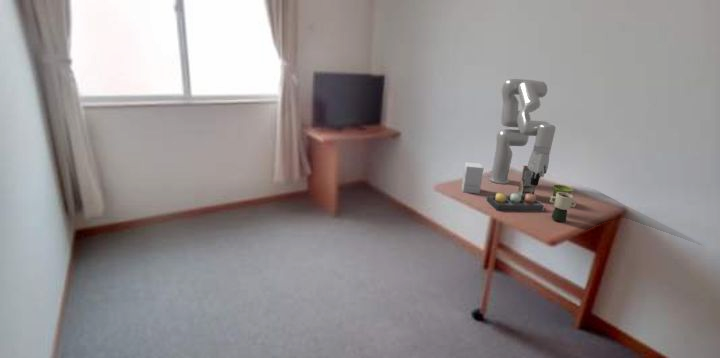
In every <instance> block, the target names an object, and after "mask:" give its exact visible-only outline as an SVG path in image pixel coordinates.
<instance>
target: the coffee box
mask: <svg viewBox="0 0 720 358" xmlns="http://www.w3.org/2000/svg"><path fill="white" fill-rule="evenodd" d="M522 166H523V167H522V172H521V176H520V181H519V186H518V190H517V191H518V192H517V194H520V195H521V196H526V194H527V193H530V194H534V195H535V191H536V187H537V186H535V185H531V184H530V183H531V178H532V176H531V174H532V173H531V171H530V170H529V169H528V165H522Z"/></svg>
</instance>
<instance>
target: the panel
mask: <svg viewBox="0 0 720 358" xmlns="http://www.w3.org/2000/svg"><path fill="white" fill-rule="evenodd" d="M495 197H496V195H487V197H486V202H488V204H490V205H491V206H492V207H493V209H495V210H496V211H497V212H498V211H501V212H503V211H506V212H507V211H511V212H512V211H513V212H528V211H529V212H543V211H544V204H542V203H541V202H539V201H538V200H537V199H536V200H535V203H527V202H525V201H524V200H525V196H522V197H521V201H520V203H512V202H511V201H510V197H511V195H507V196H506V201H505V203H497V202H496V201H495Z"/></svg>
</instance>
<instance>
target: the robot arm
mask: <svg viewBox="0 0 720 358" xmlns="http://www.w3.org/2000/svg"><path fill="white" fill-rule="evenodd" d="M547 94H548V85H547V84H546V83H545V82H544V81H541V80H534V79H523V78H522V79H521V78H510V79H506V80H505V81H504V83H503V84H502V88H501V97H502V109H501V117H500V120H501V121H500V123H501V125H502V127H506V128H504V129H500V130H499V131H497V133H496V147H495V152H494V153H495V154H494V158H493V163H492V164H493V165H492V169H491V170H490V175H489V176H488V177H487V180H488V181H490V182H491V183H492V182H493V183H495V184H500V185H506V184H509V183H510V182H511V181H510V179H509V178H508V177H509V173H510V168H511V164H512V158H513V151H512V149H511V147H524V146H526V145H527V144H528V143H529V142H528V141H529V137H530V136H531V137H534V136H535V139H534V145H533V149H532V151H531V153H530V156H529V159H528V163H527V166H528V169H529V170H530V171H531V173H532V174H531V176H532V178H531V183H530V184H531V185H535V186H536V187H537V186H539V182H540V179H541V178H544V177H545V175H546V174H547V171H548V169H549V164H550V153H551V149H552V146H553V141H554V136H555V133H556V126H555V125H553V124H550V123H549V122H547V121H546V120H545V121H543V120H531V115H530V113H532V112H535V111H536V110H538V109H540V107H541V100H540V98H543V97H545V96H546V95H547ZM516 95H517V96H518V95H519V98H520V102H521V106H522V108H521V109H520V110H519V103H520V102H519V100H518V98H517V96H516ZM511 128H517V129H511Z"/></svg>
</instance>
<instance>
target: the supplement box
mask: <svg viewBox="0 0 720 358" xmlns="http://www.w3.org/2000/svg"><path fill="white" fill-rule="evenodd" d="M483 174H484V166H483V165H482V163H477V162H470V161H469V162H467V161H466V162H465V163H464V169H463V176H462V182H461V190H462V192H463V193H471V194H478V195H480V191H481V185H482V179H483Z"/></svg>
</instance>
